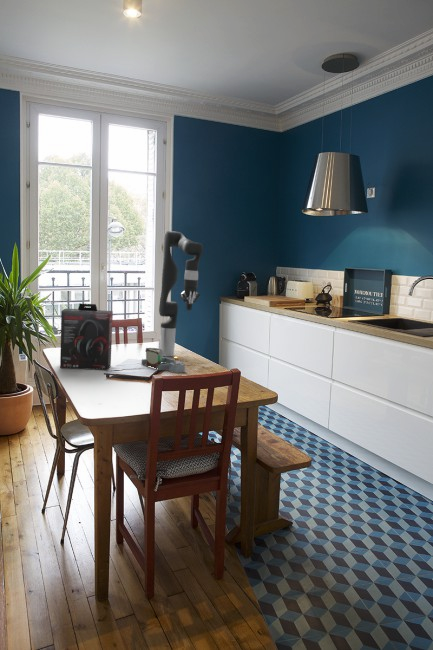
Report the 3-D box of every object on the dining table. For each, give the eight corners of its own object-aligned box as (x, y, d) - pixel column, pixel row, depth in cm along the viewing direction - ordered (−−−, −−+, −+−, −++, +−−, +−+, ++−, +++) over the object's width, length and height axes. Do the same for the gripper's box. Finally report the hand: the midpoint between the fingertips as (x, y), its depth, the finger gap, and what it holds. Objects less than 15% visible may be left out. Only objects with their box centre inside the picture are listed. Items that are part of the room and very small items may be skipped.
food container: (167, 369, 272) (168, 350, 270) (158, 370, 267) (159, 351, 266) (153, 364, 280) (154, 347, 279) (144, 365, 276) (145, 347, 275)
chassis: (141, 364, 278) (141, 357, 277) (165, 362, 289) (165, 355, 289) (168, 373, 261) (169, 366, 260) (192, 370, 272) (193, 363, 272)
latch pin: (170, 367, 268) (171, 356, 267) (177, 366, 271) (178, 356, 271) (176, 369, 265) (176, 358, 264) (182, 368, 268) (183, 357, 267)
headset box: (58, 368, 255) (60, 303, 251) (63, 363, 267) (66, 301, 264) (107, 370, 257) (111, 306, 254) (110, 365, 270) (113, 304, 266)
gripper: (186, 279, 270) (184, 311, 272) (204, 279, 279) (202, 310, 281) (177, 278, 275) (175, 309, 277) (195, 278, 284) (193, 309, 286)
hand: (188, 310), depth 279 cm, fingers closed
